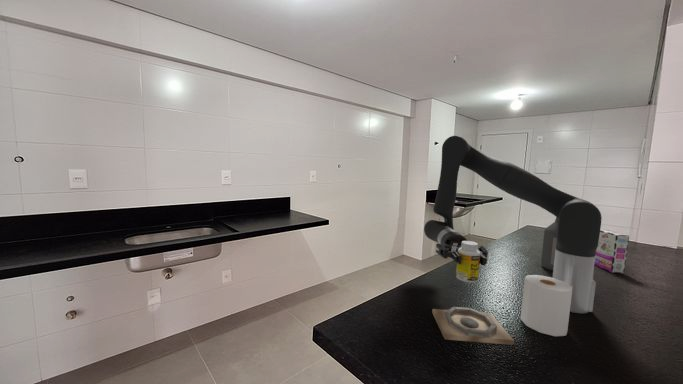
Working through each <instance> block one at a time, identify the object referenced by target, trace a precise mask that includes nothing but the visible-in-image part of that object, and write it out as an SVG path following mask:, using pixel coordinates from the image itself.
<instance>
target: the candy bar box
mask: <svg viewBox="0 0 683 384" xmlns="http://www.w3.org/2000/svg"><path fill="white" fill-rule="evenodd" d="M629 241H630V235H628V234H623V233H620V232H616V231H611V230H608V229H600V235H599V242H598V247H597V250H596V256H595V264H594V266H596V267H598V268H600V269H603V270H605V271H608V272H610V273H612V274H613V273H614V274H625V269H626V262H627V255H628V247H629Z"/></svg>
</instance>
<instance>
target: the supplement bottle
mask: <svg viewBox="0 0 683 384" xmlns="http://www.w3.org/2000/svg"><path fill="white" fill-rule="evenodd" d="M478 247H479V244H478V242H475V241H472V240H467V241H462V244H461V248H459V249H458V253H459V254H460V255H461V264H457V263H456V268H455V269H456V271H455V277H456V279H458V280H460V281H462V282H464V283H470V284H472V283H473V284H474V283H477V282H478V281H479V275H480V266H481V264H480V251H479V250H477V249H478Z"/></svg>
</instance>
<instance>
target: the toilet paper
mask: <svg viewBox="0 0 683 384" xmlns="http://www.w3.org/2000/svg"><path fill="white" fill-rule="evenodd" d="M572 288H573V287H572V286H570V285H569V284H567V283H565V282H563V281H560V280H557V279H554V278H553V277H551V276H545V275H540V274H529V275H528V274H527V275H526V276H525V277H524V280H523V291H522V300H521V309H520V320H521V322H523V324H524V325H525V326H526V327H528V328H530V329H532V330H533V331H536V332H538V333H541V334H545V335H549V336H552V337H564V336H567V334H568V329H569V328H568V327H569V321H570V320H569V319H570V305H571V297H572Z"/></svg>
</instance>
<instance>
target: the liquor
mask: <svg viewBox="0 0 683 384" xmlns="http://www.w3.org/2000/svg"><path fill="white" fill-rule="evenodd" d="M558 225H559V218H557V217H556V216H555V220H554V221H553V223H551V224H550V225H548V226H547V227H545V228H544V232H543V242H542V252H541V259H540V260H541V261H540V265H541V267H543V268H545V269H546V270H548V271H550V272H551V271H552V272H553V269H554V260H555V251H556V241H557V234H558Z"/></svg>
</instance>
